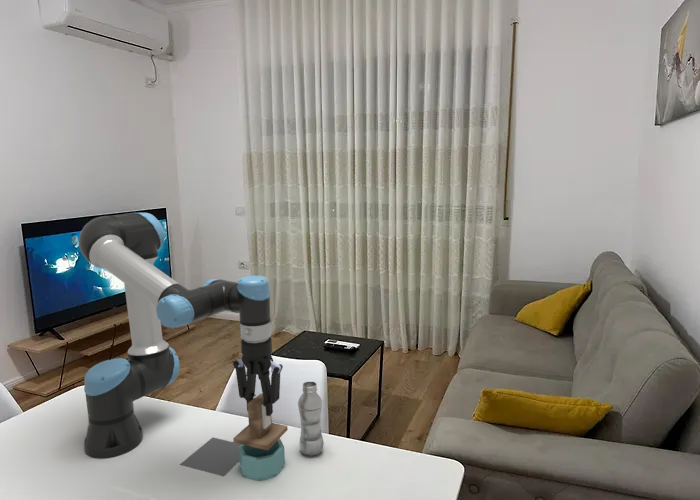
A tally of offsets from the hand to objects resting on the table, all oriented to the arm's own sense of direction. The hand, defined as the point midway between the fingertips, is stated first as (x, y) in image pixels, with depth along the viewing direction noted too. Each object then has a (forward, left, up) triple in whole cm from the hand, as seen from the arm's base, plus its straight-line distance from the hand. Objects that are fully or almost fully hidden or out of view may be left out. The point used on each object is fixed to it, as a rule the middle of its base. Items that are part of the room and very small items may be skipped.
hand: (260, 424), depth 128 cm
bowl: (0, 0, -12) cm, 12 cm away
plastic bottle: (+9, +11, -12) cm, 19 cm away
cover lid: (0, 0, -3) cm, 3 cm away
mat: (-14, 0, -12) cm, 19 cm away
